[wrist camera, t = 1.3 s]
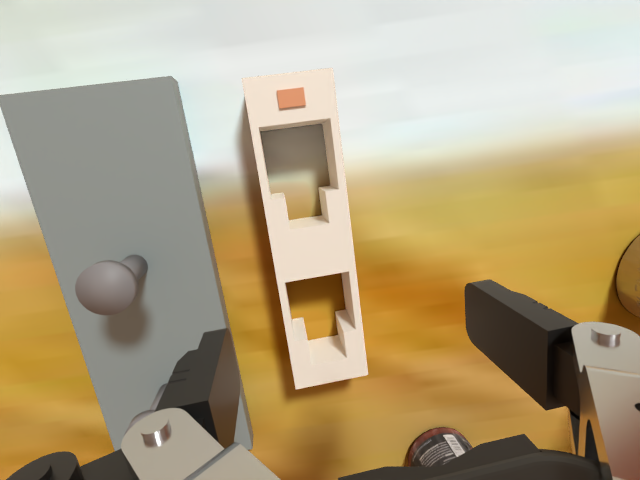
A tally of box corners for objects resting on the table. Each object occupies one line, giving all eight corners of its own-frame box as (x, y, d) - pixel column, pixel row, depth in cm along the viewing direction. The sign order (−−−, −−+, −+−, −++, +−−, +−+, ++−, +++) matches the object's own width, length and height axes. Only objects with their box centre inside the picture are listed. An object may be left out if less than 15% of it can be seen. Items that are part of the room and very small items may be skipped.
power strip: (324, 80, 24) (333, 67, 21) (356, 350, 30) (368, 375, 26) (245, 89, 24) (241, 77, 20) (292, 362, 29) (295, 390, 25)
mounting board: (177, 81, 23) (145, 55, 17) (253, 434, 30) (249, 502, 24) (14, 99, 22) (-78, 78, 16) (130, 461, 29) (95, 538, 23)
